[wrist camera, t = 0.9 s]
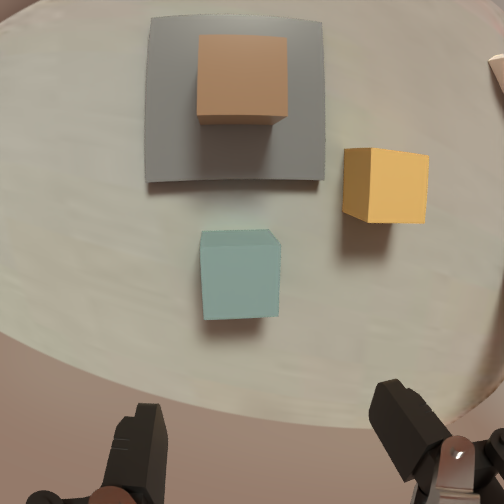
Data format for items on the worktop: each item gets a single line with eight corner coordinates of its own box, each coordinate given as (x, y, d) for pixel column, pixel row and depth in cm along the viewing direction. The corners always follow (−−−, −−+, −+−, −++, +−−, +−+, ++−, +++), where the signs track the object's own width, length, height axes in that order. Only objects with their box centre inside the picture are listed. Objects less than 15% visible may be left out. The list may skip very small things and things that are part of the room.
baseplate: (317, 27, 22) (344, -2, 16) (319, 179, 25) (350, 185, 20) (153, 23, 20) (139, -10, 14) (148, 181, 24) (128, 188, 18)
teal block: (268, 229, 26) (281, 244, 22) (267, 290, 28) (278, 316, 23) (202, 230, 26) (199, 247, 21) (204, 292, 27) (203, 319, 22)
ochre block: (396, 154, 26) (429, 155, 21) (393, 212, 27) (424, 223, 23) (343, 148, 25) (371, 147, 20) (341, 211, 27) (367, 222, 22)
